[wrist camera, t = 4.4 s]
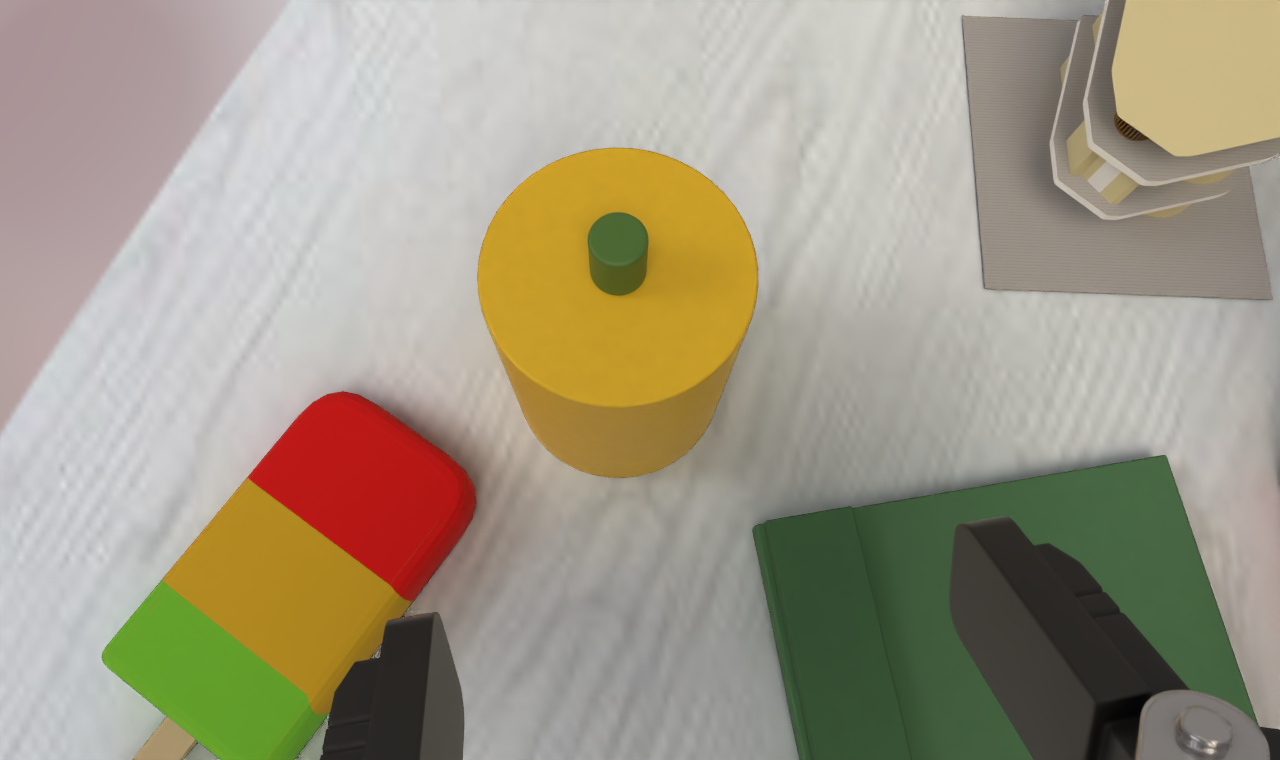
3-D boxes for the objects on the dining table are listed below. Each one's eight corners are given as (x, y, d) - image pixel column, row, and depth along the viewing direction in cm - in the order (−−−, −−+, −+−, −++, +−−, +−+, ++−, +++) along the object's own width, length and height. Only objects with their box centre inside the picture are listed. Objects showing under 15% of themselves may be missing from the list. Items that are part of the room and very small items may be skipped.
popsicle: (498, 493, 26) (488, 481, 24) (126, 991, 22) (82, 1023, 20) (349, 387, 27) (329, 368, 25) (-33, 850, 23) (-90, 868, 21)
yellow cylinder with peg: (532, 493, 26) (483, 408, 17) (505, 300, 27) (447, 126, 18) (737, 460, 26) (800, 358, 17) (698, 271, 28) (737, 86, 19)
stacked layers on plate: (961, 16, 31) (1032, -115, 25) (1222, 27, 31) (1346, -101, 26) (984, 289, 28) (1069, 205, 23) (1271, 300, 28) (1422, 219, 23)
